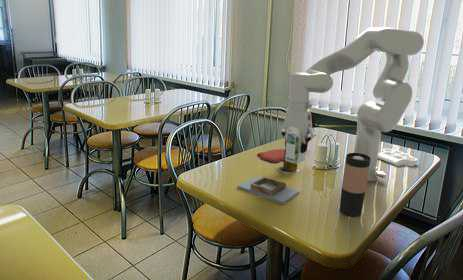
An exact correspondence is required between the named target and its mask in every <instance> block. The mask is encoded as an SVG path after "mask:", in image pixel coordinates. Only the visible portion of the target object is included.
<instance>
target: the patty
mask: <svg viewBox="0 0 463 280" xmlns="http://www.w3.org/2000/svg"><path fill="white" fill-rule="evenodd" d="M284 151H285V149H278V148H277V149H271V150H267V151H264V152H263V151H262V152H258V153H257V155H256V156H257V157H259V158H260V160H262V161H264V162H268V163H270V164H279V163H280V162H284Z"/></svg>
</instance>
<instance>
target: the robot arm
mask: <svg viewBox="0 0 463 280" xmlns="http://www.w3.org/2000/svg"><path fill="white" fill-rule="evenodd" d="M424 44H425V40H424V37H423V35H422V34H421V33H420V32H418V31H414V30H413V31H412V30H405V29H397V28H391V27H383V26H382V27H381V26H380V27H376V26H375V27H369V28H367V29H366V30H365V29H364V31H362V32H361V33H360V34H359V35H357V36H356V37H355V38H354V39H353V40H351V41H350V42H349V43H348V44H346V45H345V46H344V47H342V48H341V49H339V50H337V51H335V52H333V53H331V54H329V55H328V56H325V57H323V58H322V59H320V60H318V61H317V62H315V63H314V64H312V65H311V66H310V67H309V68H308V69H306V71H305V72H304V71H303V72H302V71H301V72H298V71H297V72H292V73H291V74H290V76H289V89H288V91H289V92H288V105H287V106H288V107H287V108H286V110H285V113H284V120H283V124H282V125H281V126H279V128H278V131H279V132H280V133H281V135H282V137H283V139H284V146H285V148H284V150H285V149H286V140H287V129H288V128H289V127H296V128H300V136H301V138H302V141H303V143H302V144H301V153H304V152H305V153H306V152H308V151H307V144H308V145H309V142H310V141H312V139H314V138H315V137H316V136H317V134H316V133H315V130H313V129H312V127H313V125H312V124H313V123H312V112H311V108H312V106H313V105H312V104H311V103H310V93H318V94H325V93H328V92H329V91H330V90H331V89H332V87H333V85H334V80H333V77H332V76H331V75H332V74H335V73H337V72H341V71H346V70H350V69H354V68H356V67H357V66H359V65H360V63H362V62H363V61H365V60H366V59H367V58H368V57H370V56H371V55H372V54H373V53H375V52H383V53H385V56H386V61H385V65H384V67H383V69H382V72H381V74H380V75H379V78H378V80H377V81H376V83H375V85H374V87H373V89H372V95H373V97H374V98H375V99H376V100H377V101H381V102H383V104H381V103H378V102H375V101H367V102H364V103H362V104H361V105H360V106H359V107H358V109H357V113H356V122H357V123H356V136H355V143H354V151H353V153H361V154H365V155H367V156H369V157H370V158H371V160H370V165H369V172H368V179H367V182H375V181H377V180H378V179H379V178H382V179H385V178H386V176H387V175H386V173H385V172H384V171H382V170H381V171H380V170H379V169H378V168H379V166H377V163H378V160H379V159H378V153H380V152H379V151H380V144H381V140H382V132H383V133H387V132H391V131H393V130H394V129H395V128H396V126H397V125H398V124H399V122H400V120H401V118H402V117H403V115H404V113H405V111H406V110H407V108H408V106H409V105H410V102H411V100H412V98H413V89H412V86H411V85H410V84H409V82H406V81H404V79H405V77H406V75H407V73H408V70H409V66H410V63H409V56H414V55H417V54H418V53H419V52H420V51H421V50H422V49H423V47H424ZM307 134H309V136H308V135H307Z"/></svg>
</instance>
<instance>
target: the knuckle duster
mask: <svg viewBox="0 0 463 280" xmlns="http://www.w3.org/2000/svg"><path fill="white" fill-rule="evenodd" d="M379 159H380V160H381V161H385V162H387V163H388V164H392V165H394V166H397V167H400V165H401V166H406V165H412V166H411V167H415V166H414V165H416V164H417V165H418V158H416V157H414V156H412V155H411V154H409V153H405V152H403V151H399V150H395V149H392V148H383V149H381V152H378V159H377V160H379ZM417 165H416V166H417Z"/></svg>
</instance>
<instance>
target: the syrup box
mask: <svg viewBox="0 0 463 280" xmlns="http://www.w3.org/2000/svg"><path fill="white" fill-rule="evenodd" d="M302 143H303V141H302V138H301V136H300V128H296V127H289V128H288V129H287V140H286V156H285V160H286V161H289V162H292V163H295V164H297V165H298V164H299V163H302V162H305V161H306V152H304V153H301V144H302Z"/></svg>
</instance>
